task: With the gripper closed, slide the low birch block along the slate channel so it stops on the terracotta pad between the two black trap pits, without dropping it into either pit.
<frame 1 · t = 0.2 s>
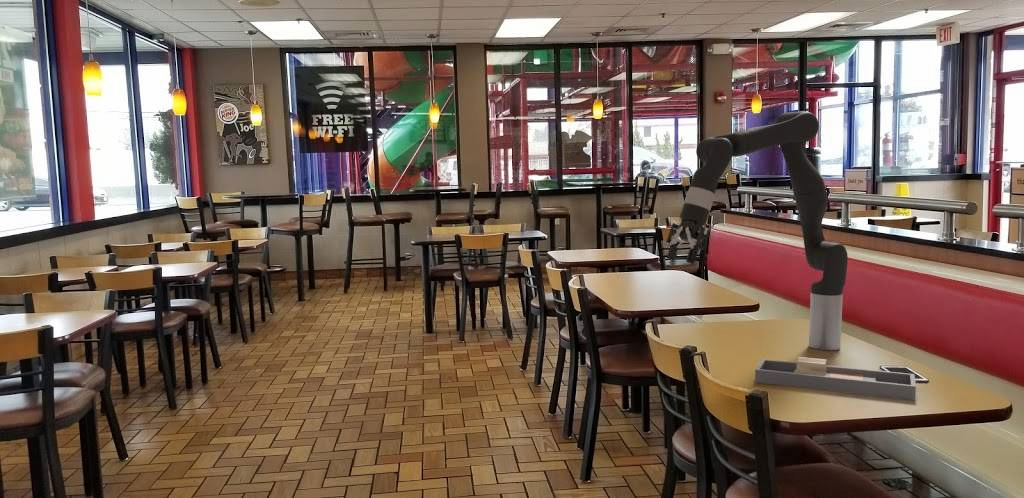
hand: (679, 261, 217), 31 cm above the table, tool tilted 20°, fingers open, 8 cm apart
birch block: (811, 375, 207), point 2 cm above the table, touching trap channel
cell phone: (903, 377, 213), on the table
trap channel: (833, 384, 205), on the table
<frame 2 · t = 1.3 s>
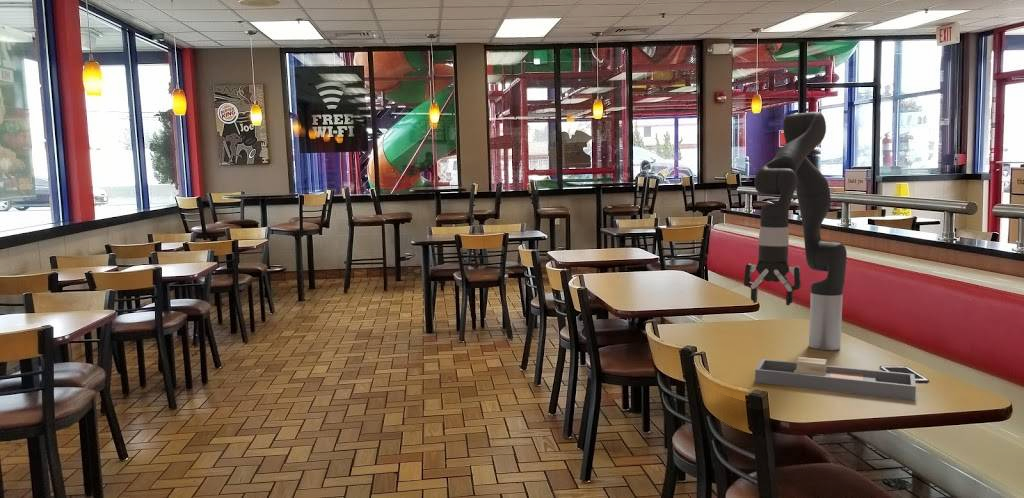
hand: (771, 303, 209), 21 cm above the table, tool pointing down, fingers open, 8 cm apart
nothing on the table moved.
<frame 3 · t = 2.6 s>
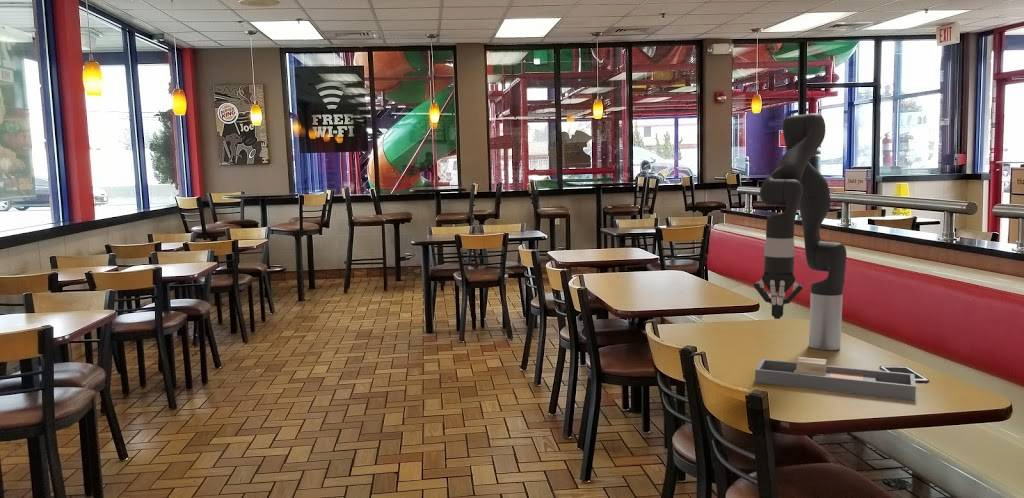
hand: (777, 318, 209), 17 cm above the table, tool pointing down, fingers closed
nothing on the table moved.
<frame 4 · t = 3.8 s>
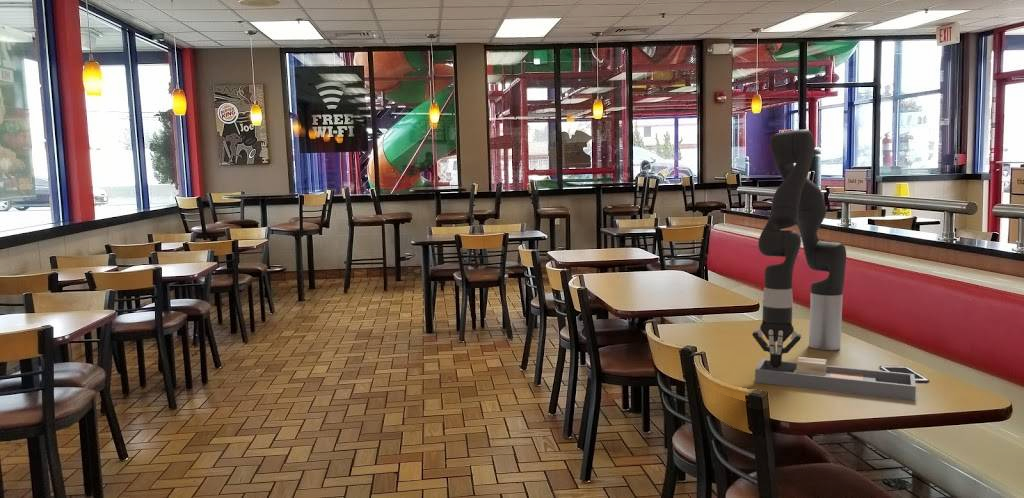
hand: (775, 367, 210), 3 cm above the table, tool pointing down, fingers closed
nothing on the table moved.
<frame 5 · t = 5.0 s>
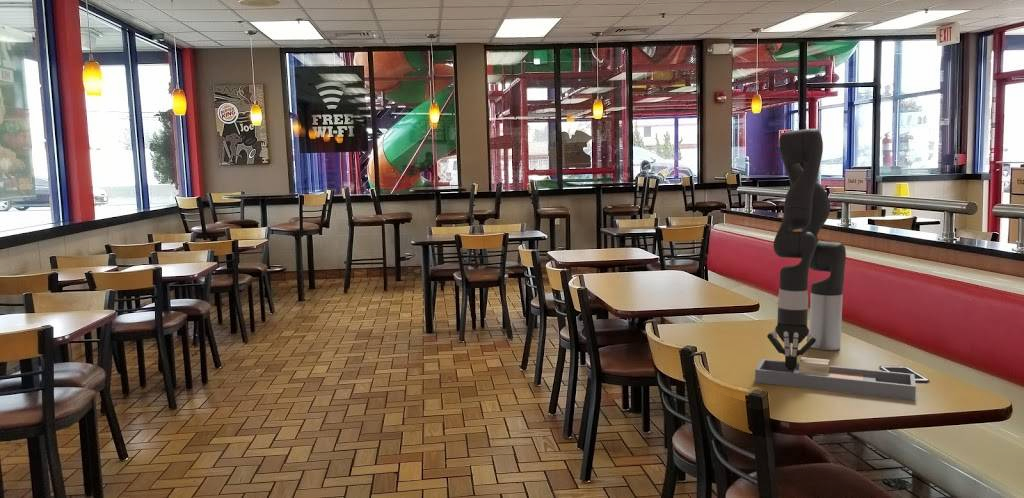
hand: (790, 369, 209), 3 cm above the table, tool pointing down, fingers closed
nothing on the table moved.
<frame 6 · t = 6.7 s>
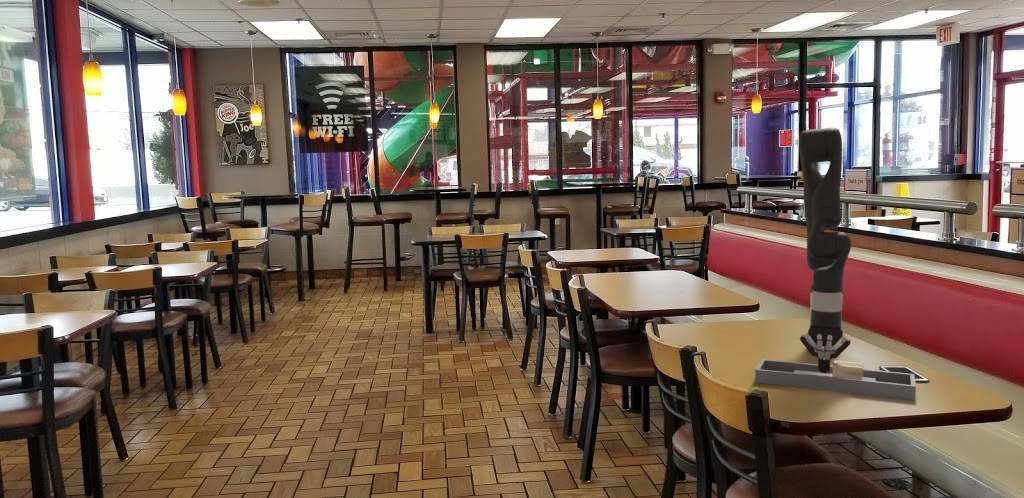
hand: (823, 372, 205), 3 cm above the table, tool pointing down, fingers closed
birch block: (847, 379, 203), point 2 cm above the table, touching gripper, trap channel
everything else where it was.
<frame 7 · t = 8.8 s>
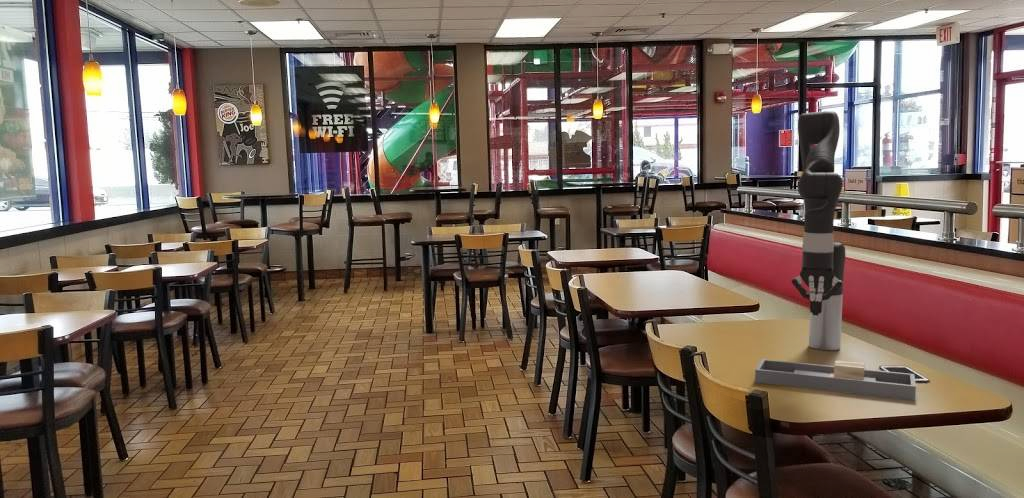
hand: (815, 314, 205), 18 cm above the table, tool pointing down, fingers closed
birch block: (848, 379, 203), point 2 cm above the table, touching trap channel
everything else where it was.
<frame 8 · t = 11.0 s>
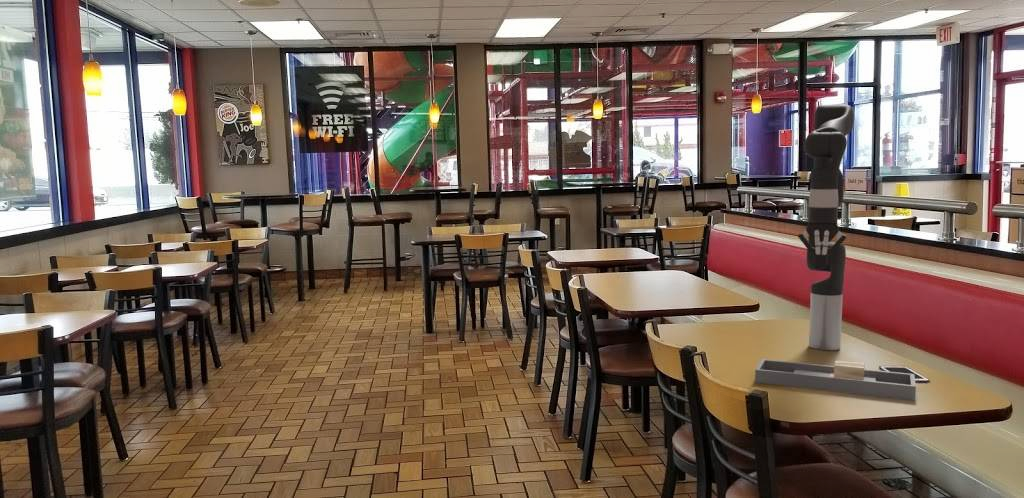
hand: (820, 267, 216), 29 cm above the table, tool pointing down, fingers closed
nothing on the table moved.
at the end: birch block 0.5 cm from the target spot on the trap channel, point 2.0 cm above the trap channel's base; birch block tilted 0° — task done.
